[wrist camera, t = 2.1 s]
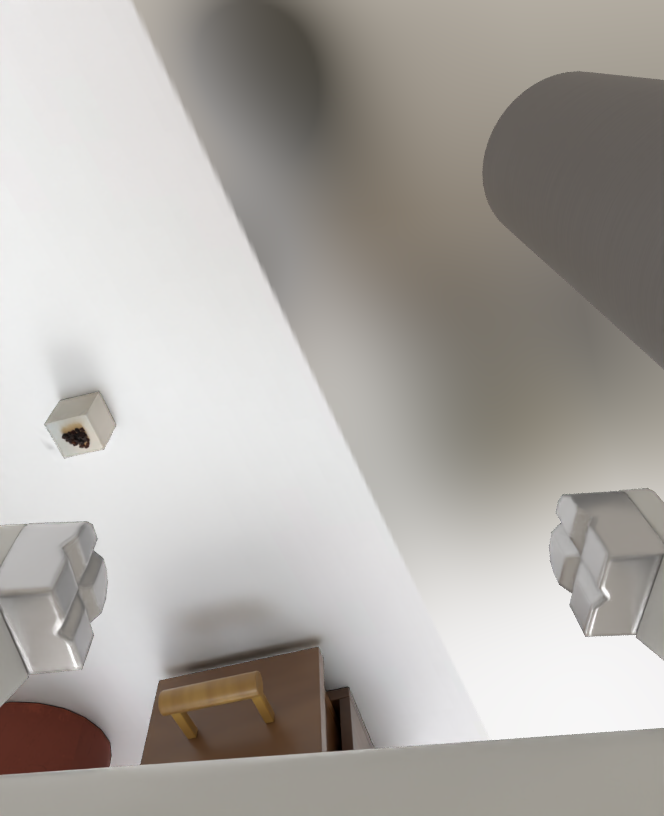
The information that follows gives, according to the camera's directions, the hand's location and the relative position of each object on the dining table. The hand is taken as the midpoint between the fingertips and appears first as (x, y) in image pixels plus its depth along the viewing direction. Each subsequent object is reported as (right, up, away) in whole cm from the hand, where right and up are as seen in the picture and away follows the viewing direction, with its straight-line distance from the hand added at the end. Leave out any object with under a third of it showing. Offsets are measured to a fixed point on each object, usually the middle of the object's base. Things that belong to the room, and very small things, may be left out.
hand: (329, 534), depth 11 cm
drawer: (-5, -19, +33) cm, 38 cm away
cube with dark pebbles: (-13, +2, +21) cm, 24 cm away
